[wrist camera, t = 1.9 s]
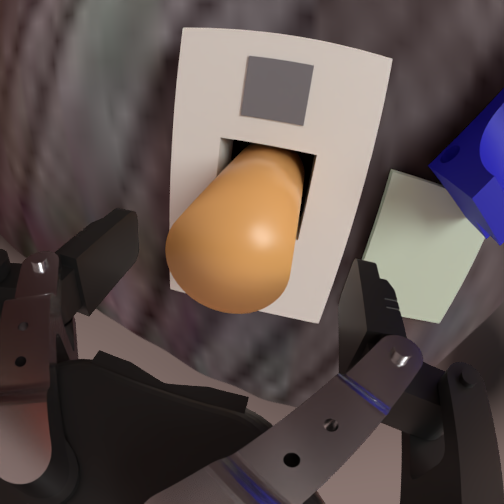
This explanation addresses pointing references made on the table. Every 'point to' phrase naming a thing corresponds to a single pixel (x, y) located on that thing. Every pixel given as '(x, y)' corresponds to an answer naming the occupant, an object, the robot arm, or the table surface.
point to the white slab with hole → (281, 135)
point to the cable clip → (477, 170)
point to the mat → (421, 245)
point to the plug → (240, 232)
